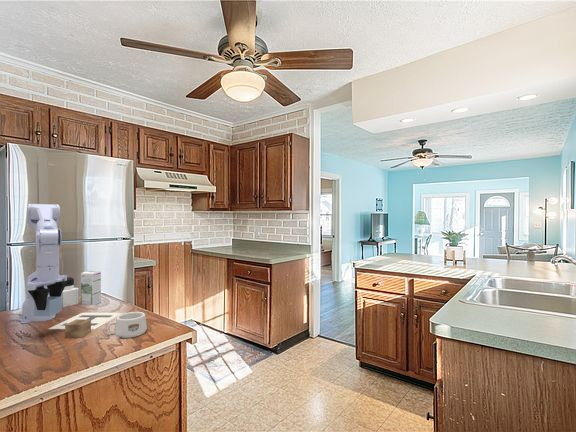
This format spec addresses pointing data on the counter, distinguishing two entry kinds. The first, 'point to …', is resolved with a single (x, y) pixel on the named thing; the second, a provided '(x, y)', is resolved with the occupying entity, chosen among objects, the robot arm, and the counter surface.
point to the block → (77, 328)
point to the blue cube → (49, 307)
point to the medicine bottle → (69, 294)
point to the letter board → (95, 318)
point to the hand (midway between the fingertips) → (48, 307)
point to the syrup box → (90, 287)
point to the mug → (129, 325)
